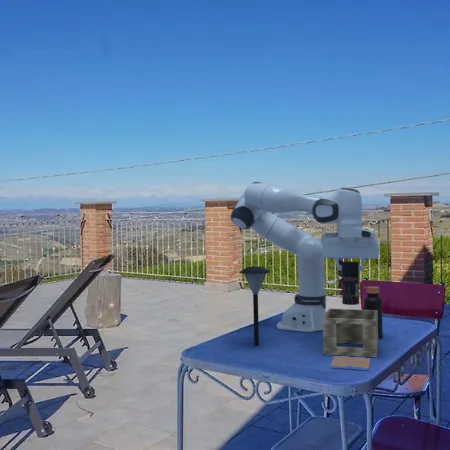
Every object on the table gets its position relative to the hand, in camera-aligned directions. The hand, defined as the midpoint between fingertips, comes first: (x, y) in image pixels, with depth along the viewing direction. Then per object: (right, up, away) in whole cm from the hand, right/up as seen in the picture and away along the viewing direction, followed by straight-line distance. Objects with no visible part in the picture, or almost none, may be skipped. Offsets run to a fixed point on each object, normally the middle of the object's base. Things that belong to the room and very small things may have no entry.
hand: (350, 270), depth 188 cm
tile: (-4, -30, -17) cm, 34 cm away
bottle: (+14, -28, +18) cm, 36 cm away
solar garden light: (-34, -30, +9) cm, 46 cm away
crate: (+1, -29, +1) cm, 29 cm away
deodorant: (0, -12, 0) cm, 12 cm away
